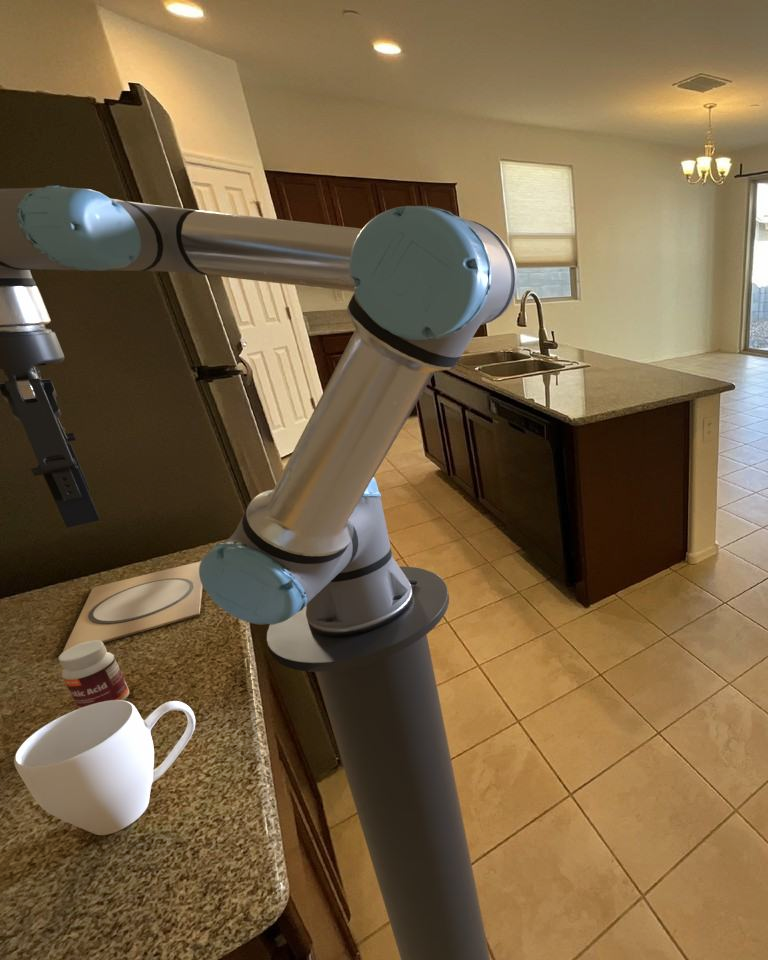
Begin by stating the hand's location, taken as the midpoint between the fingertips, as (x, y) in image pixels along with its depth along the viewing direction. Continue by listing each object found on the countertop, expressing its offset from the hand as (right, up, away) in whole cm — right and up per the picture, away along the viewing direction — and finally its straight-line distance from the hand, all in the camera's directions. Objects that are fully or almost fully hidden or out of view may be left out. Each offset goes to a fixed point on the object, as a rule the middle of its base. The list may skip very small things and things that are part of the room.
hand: (79, 507), depth 64 cm
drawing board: (-17, -18, +26) cm, 35 cm away
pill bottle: (-1, -26, +4) cm, 26 cm away
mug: (+17, -31, -9) cm, 36 cm away
